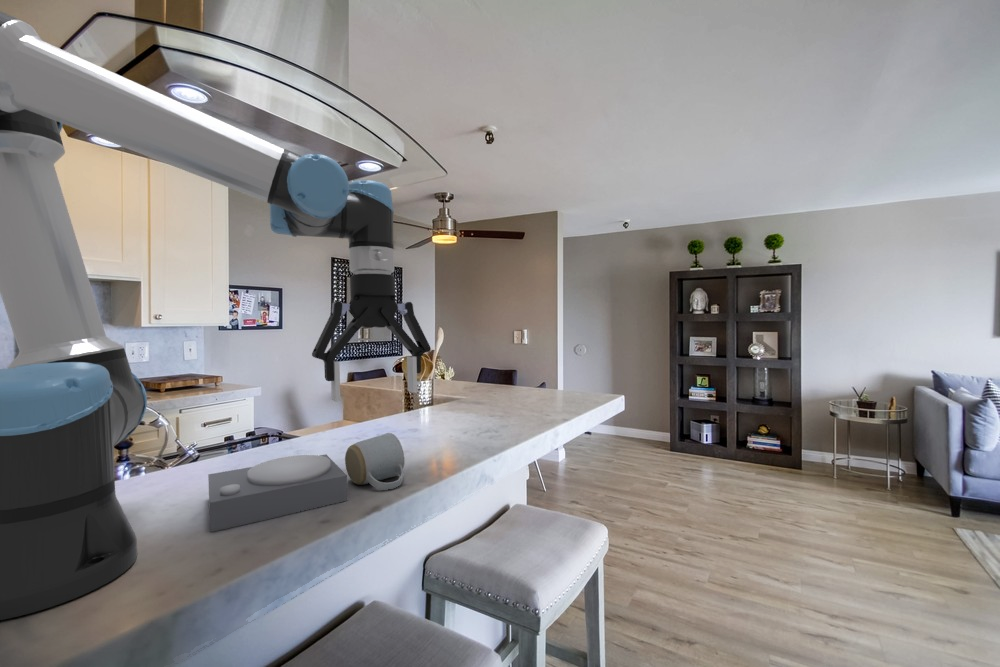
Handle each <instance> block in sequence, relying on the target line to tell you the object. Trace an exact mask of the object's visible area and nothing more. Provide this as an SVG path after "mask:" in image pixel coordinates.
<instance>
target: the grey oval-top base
mask: <svg viewBox="0 0 1000 667" xmlns="http://www.w3.org/2000/svg"><path fill="white" fill-rule="evenodd" d="M207 476H208V477H207V478H208V500H209V501H208V502H209V503H208V506H209V525H210V529H209V530H210V533H213V532H218V531H223V530H226V529H230V528H235V527H240V526H244V525H247V524H252V523H257V522H261V521H262V522H263V521H266V520H269V519H274V518H279V517H283V516H287V515H288V516H289V515H292V514H297V513H300V511H301V512H305V511H304V510H306V511H310V510H313V508H314V509H318V508H317V507H319V508H322V507H321V506H323V507H326V506H325V505H327V506H330V505H329V504H332V505H334V504H333V503H336V504H340V503H339V502H341V503H344V502H343V501H345V502H348V501H347V500H349V498H348V474H346V473H345V471H343V470H342V469H341V468H340V467H339V466H338V465H337V464H336V463H335V462H334V461H333V459H331V457H330V456H328V455H327V453H326V454H325V453H324V454H321V455H316V454H303V455H302V454H301V455H290V456H284V457H279V458H274V459H270V460H269V459H268V460H266V461H264V462H260V463H258V464H256V465H253V466H251V467H244V468H239V469H234V470H233V469H232V470H227V471H221V472H215V473H209V474H207ZM309 509H310V510H309ZM296 512H297V513H296Z"/></svg>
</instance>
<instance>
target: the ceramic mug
mask: <svg viewBox="0 0 1000 667" xmlns="http://www.w3.org/2000/svg"><path fill="white" fill-rule="evenodd" d="M344 462H345V469H346V473H347V476H348V477H349V479H350V481H352V483H353V484H355V485H359V486H360V485H369V484H370V486H372V487H373V488H374V489H376V490H377V489H378V490H380V491H389V490H388V489H392V490H394V489H393V488H395V489H397V488H399V487H400V486H401V485H402V484H403V481H404V476H405V475H404V474H405V473H404V468H405V454H404V449H403V446H402V444H401V442H400V439H398V437H397V436H396V435H395V434H393V433H391V432H386V433H383V434H380V435H377V436H374V437H371V438H367V439H363V440H360V441H356V442H355V443H353V444H351V445H350V446H349V447H348V448H347V450H346V452H345V457H344ZM398 476H399V477H398ZM394 477H398V479H397V480H395V481H391V482H383V481H382V480H386V479H390V478H394ZM368 483H369V484H368ZM398 486H399V487H398ZM396 487H397V488H396Z"/></svg>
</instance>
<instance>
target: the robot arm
mask: <svg viewBox="0 0 1000 667" xmlns="http://www.w3.org/2000/svg"><path fill="white" fill-rule="evenodd" d="M63 125H65V126H68V127H71V128H73V129H76V130H78V131H81V132H83V133H86V134H88V135H91V136H94V137H96V138H99V139H101V140H105V141H107V142H110V143H113V144H115V145H117V146H120V147H122V148H124V149H128V150H130V151H133V152H136V153H137V154H140V155H143V156H146V157H148V158H151V159H154V160H156V161H159V162H161V163H164V164H166V165H170V166H172V167H174V168H177V169H179V170H183V171H185V172H187V173H191V174H193V175H196V176H198V177H201V178H203V179H206V180H209V181H210V182H212V183H213V182H214V183H216V184H218V185H222V186H223V187H226V188H229V189H232V190H233V191H237V192H240V193H242V194H245V195H247V196H249V197H253V198H255V199H258V200H259V201H263V202H265V203H268V204H269V224H270V229H271V231H272V232H273V233H275V234H277V235H284V236H285V235H286V236H291V237H295V238H296V237H312V238H315V237H316V238H333V239H347V240H348V249H349V250H348V251H349V253H348V255H349V258H348V259H349V260H348V261H349V272H350V273H352V274H351V276H350V277H349V292H350V293H349V294H350V301H349V303H345V302H341V301H334V302H331V306H330V313H329V314H330V315H329V317H328V319H327V321H326V322H325V326H324V328H323V330H322V332H321V333H320V336H319V337H318V340H317V342H316V344H315V346H314V348H313V350H312V352H311V356H312V357H313V358H314V359H319V360H322V361H323V365H324V379H325V381H327V382H330V384H331V400H332V401H334V402H341V401H342V400H341V378H340V377H341V374H340V373H341V372H340V371H341V370H340V361H338V360H336V358H338V356H339V355H340V353H341V352H342V351H343V349H345V347H346V346H347V345H348V343H349V342H350V341H351V340H352V339H353V337H354V336H355V334H356V333H357V332H358V331H359V330H361V328H363V329H370V328H371V329H372V328H377V329H378V328H379V329H380V328H387V329H388V330H389V331H390V332H391V334H393V335H394V336H395V337H396V338H397V340H398V341H399V342H400V343H401V344H402V345H403V346H404V348H405V349H406V350H407V351H408V352H409V354H410V355H406V378H407V392H409V393H416V394H417V393H418V374H421V372H422V357H423V356H424V354H425V353H430V351H431V350H432V349H431V346H430V343H429V342H428V340H427V337H426V335H425V334H424V331H423V329H422V327H421V325H420V323H419V322H418V319H417V318H416V315H415V310H414V304H413V303H412V302H411V301H406V302H405V301H404V302H402V303H397V301H396V278H395V276H394V275H392V274H393V273H394V272H395V250H394V249H395V248H394V213H395V212H394V206H393V196H392V191H391V188H390V187H389V186H388V185H386V184H384V183H383V182H380V181H377V180H370V179H369V180H368V179H367V180H354V181H351V182H349V178H348V176H347V173H346V172H345V170H344V168H343V167H342V166H341V165H340V164H339V163H338V162H337V161H336V160H334V159H333V158H331V157H330V156H327V155H324V154H318V153H317V154H316V153H311V154H305V155H301V154H298V153H296V152H294V151H290V150H288V149H286V148H283V147H281V146H279V145H277V144H274V143H273V142H270V141H268V140H266V139H263V138H261V137H259V136H257V135H255V134H252V133H249V132H248V131H246V130H244V129H241V128H238V127H236V126H234V125H232V124H230V123H227V122H226V121H223V120H222V119H218V118H217V117H214V116H211V115H210V114H208V113H205V112H204V111H200V110H198V109H196V108H194V107H192V106H189V105H187V104H185V103H183V102H180V101H179V100H176V99H174V98H171V97H169V96H167V95H166V94H162V93H160V92H158V91H156V90H154V89H151V88H150V87H147V86H144V85H142V84H141V83H139V82H136V81H134V80H131V79H129V78H127V77H125V76H122V75H120V74H118V73H116V72H114V71H111V70H109V69H107V68H104V67H102V66H100V65H98V64H96V63H94V62H91V61H89V60H87V59H84V58H82V57H79V56H77V55H75V54H74V53H71V52H68V50H67V51H66V50H64V49H61V48H59V47H58V46H56V45H53V44H52V43H48V42H46V41H44V40H42V38H41V36H40V35H39V34H38V32H37V31H36V30H35V28H34V27H33V26H32V25H31V24H29V23H27V22H25V21H23V20H21V19H19V18H16V17H14V16H12V15H10V14H7V13H6V12H4V11H1V10H0V296H1V300H2V302H3V306H4V309H5V312H6V316H7V318H8V321H9V324H10V327H11V330H12V333H13V335H14V339H15V342H16V345H17V348H18V353H17V356H16V357H15V358H14V359H13V360H12V361H11V363H9V365H8V366H6V368H1V369H0V621H3V620H9V619H12V618H17V617H21V616H25V615H30V614H33V613H37V612H40V611H42V610H47V609H49V608H53V607H56V606H58V605H61V604H64V603H67V602H68V601H71V600H75V599H77V598H79V597H82V596H83V595H86V594H89V593H90V592H92V591H95V590H96V589H99V588H100V587H101V588H102V586H105V585H107V584H108V583H110V582H112V581H113V580H115V579H116V578H118V577H120V576H121V575H122V574H124V573H125V572H126V571H127V570H128V569H129V568H130V567H131V566H132V565H133V564H134V563H135V562H136V560H137V557H138V545H137V536H136V533H135V532H134V530H133V527H132V526H131V523H130V522H129V519H128V517H127V515H126V514H125V511H124V510H123V508H122V505H121V504H120V502H119V500H118V497H117V495H116V482H115V481H116V480H115V479H116V478H115V477H116V476H115V473H116V472H115V454H114V452H115V451H114V447H115V446H116V445H119V443H122V442H123V441H125V440H126V439H127V438H128V437H129V436H131V435H132V434H133V433H134V432H135V430H136V429H137V428H138V427H139V425H140V424H141V422H142V420H143V418H144V416H145V413H146V410H147V406H148V405H147V404H148V397H147V395H148V394H147V391H146V389H145V387H144V384H143V382H142V381H141V380H140V379H139V377H137V375H135V374H134V373H133V371H132V369H131V366H130V362H129V359H128V356H127V353H126V350H125V346H124V345H122V344H120V343H118V342H116V341H114V340H112V339H110V338H109V337H108V336H106V335H107V334H106V332H105V328H104V325H103V322H102V318H101V315H100V312H99V308H98V306H97V302H96V298H95V296H94V293H93V289H92V288H93V287H92V285H91V283H90V279H89V276H88V272H87V269H86V266H85V263H84V259H83V257H82V256H83V255H82V253H81V250H80V246H79V242H78V240H77V236H76V233H75V230H74V226H73V223H72V220H71V217H70V212H69V210H68V206H67V204H66V200H65V197H64V194H63V190H62V188H61V184H60V180H59V177H58V174H57V171H56V166H55V163H57V162H58V161H59V160H60V159H61V158H62V157H63V156H64V155H65V153H66V150H65V147H64V144H63V140H62V136H61V131H62V128H63ZM347 311H348V312H349V314H350V315H351V316H352V317H353V318H352V320H351V321H350V322H349V323H348V324H347V326H346V328H345V329H344V330H343V332H342V333H341V334H340V335H339V337H338V338H337V339H336V340H335V341H334V343H333V344H332V345H331V346H330V348H329V349H328V350H327V348H328V346H329V343H330V341H331V339H332V337H333V336H334V334H335V331H336V329H337V327H338V325H339V322H340V321H341V318H342V316H345V314H346V312H347ZM397 312H399V314H400V315H402V317H403V319H404V321H405V323H406V325H407V327H408V329H409V331H410V333H411V336H412V338H413V339H414V340H413V339H412V338H411V337H410V336H409V334H408V333H407V332H406V331H405V330H404V328H403V327H402V326H401V325H400V322H399V321H398V320H397V319H396V318H395V317H394V316H395V315H396V313H397ZM414 341H415V342H414ZM326 350H327V351H326Z"/></svg>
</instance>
